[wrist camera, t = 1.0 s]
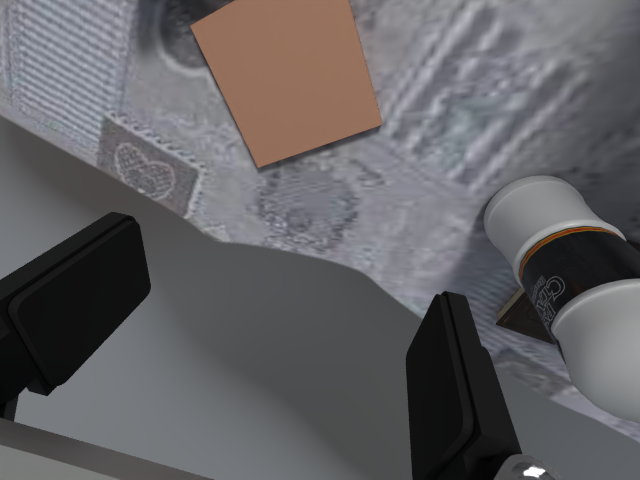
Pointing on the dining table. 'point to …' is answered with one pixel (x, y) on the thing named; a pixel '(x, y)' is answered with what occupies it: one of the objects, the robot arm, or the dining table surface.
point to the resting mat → (289, 73)
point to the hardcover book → (527, 314)
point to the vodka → (575, 285)
